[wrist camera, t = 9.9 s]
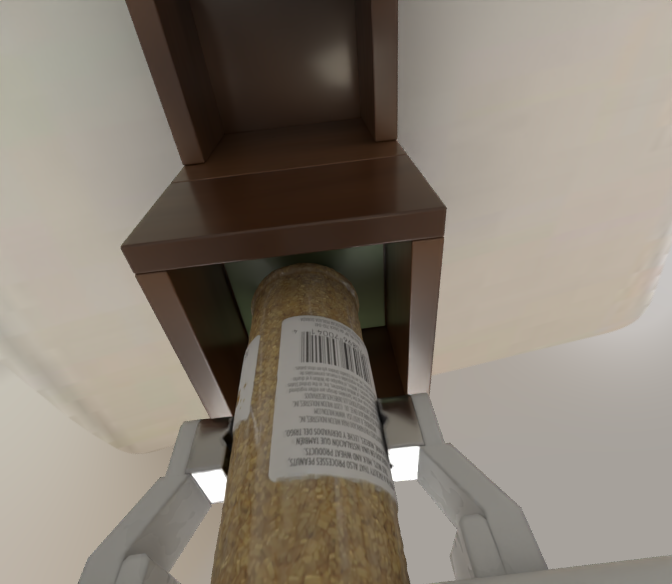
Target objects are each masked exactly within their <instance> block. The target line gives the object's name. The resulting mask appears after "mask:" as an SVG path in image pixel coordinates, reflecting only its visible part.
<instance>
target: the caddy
mask: <svg viewBox="0 0 672 584" xmlns="http://www.w3.org/2000/svg"><path fill="white" fill-rule="evenodd" d="M125 1H126V4H127V7H128V10H129V13H130V15H131V18H132V21H133V24H134V27H135V30H136V33H137V35H138V38H139V41H140V44H141V47H142V50H143V52H144V55H145V58H146V61H147V64H148V67H149V69H150V72H151V75H152V78H153V81H154V84H155V87H156V89H157V92H158V95H159V98H160V101H161V104H162V106H163V109H164V112H165V115H166V118H167V121H168V123H169V126H170V129H171V132H172V135H173V138H174V141H175V143H176V146H177V149H178V152H179V155H180V158H181V160H182V163H183V165H185V166H184V167H183V168H182V170H181V171H180V172H179V173H178V175H177V176H176V177H175V179H174V180H173V181H172V182H171V184H170V185H169V186H168V187H167V189H166V190H165V191H164V192H163V194H162V195H161V196H160V197H159V199H158V200H157V201H156V202H155V204H154V205H153V206H152V207H151V209H150V210H149V211H148V212H147V214H146V215H145V216H144V217H143V219H142V220H141V221H140V222H139V224H138V225H137V226H136V228H135V229H134V230H133V231H132V233H131V234H130V235H129V236H128V238H127V239H126V240H125V241H124V243H123V244H122V245H121V250H122V252H123V254H124V256H125V258H126V259H127V261H128V263H129V265H130V267H131V269H132V271H133V273H135V277H136V279H137V281H138V283H139V285H140V286H141V288H142V290H143V292H144V294H145V296H146V298H147V300H148V302H149V303H150V305H151V307H152V309H153V311H154V313H155V315H156V317H157V319H158V320H159V322H160V324H161V326H162V328H163V330H164V332H165V334H166V336H167V337H168V339H169V341H170V343H171V345H172V347H173V349H174V351H175V353H176V354H177V356H178V358H179V360H180V362H181V364H182V366H183V368H184V370H185V371H186V373H187V375H188V377H189V379H190V381H191V383H192V385H193V387H194V388H195V390H196V392H197V394H198V396H199V398H200V400H201V402H202V404H203V405H204V407H205V409H206V411H207V413H208V415H209V417H210V419H211V418H220V417H230V416H234V415H235V410H236V404H237V398H238V391H239V385H240V378H241V372H242V366H243V361H244V355H245V352H246V350H247V348H248V343H249V335H250V330H251V323H252V313H251V302H252V298H253V295H254V293H255V291H256V289H257V288H258V286H259V284H260V283H261V282H262V280H263V279H264V278H265V277H266V276H268V275H269V274H270V273H271V272H272V271H274V270H276V269H279V268H282V267H284V266H289V265H293V264H297V263H315V264H319V265H323V266H327V267H329V268H332V269H334V270H335V271H336V272H339V273H341V274H342V275H344V276H345V277H346V278H347V279H348V280H349V281H350V282H351V283H352V285H353V287H354V288H355V290H356V293H357V295H358V300H359V312H358V317H359V321H360V325H361V326H360V327H361V331H362V338H363V343H364V345H365V347H366V349H367V352H368V357H369V362H370V367H371V371H372V376H373V381H374V386H375V391H376V395H377V398H384V397H392V396H399V395H406V394H409V395H411V394H418V393H425V392H426V393H427V394H428V395H429V394H430V384H431V373H432V362H433V352H434V341H435V330H436V320H437V309H438V298H439V288H440V277H441V266H442V256H443V245H444V237H443V236H444V231H445V220H446V209H447V208H446V206H445V205H444V203H443V202H442V201H441V199H440V198H439V197H438V195H437V194H436V193H435V191H434V190H433V188H432V187H431V186H430V184H429V183H428V182H427V180H426V179H425V178H424V176H423V175H422V174H421V172H420V171H419V170H418V168H417V167H416V166H415V164H414V163H413V162H412V160H411V159H410V158H409V156H408V155H407V154H406V152H405V151H404V150H403V148H402V147H401V145H400V144H399V143H398V141H397V140H396V139H397V103H398V0H125Z"/></svg>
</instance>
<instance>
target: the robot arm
mask: <svg viewBox="0 0 672 584" xmlns="http://www.w3.org/2000/svg"><path fill="white" fill-rule="evenodd" d="M377 404H378V409H379V415H380V420H381V423H382V426H383V435H384V441H385V446H386V451H387V456H388V459H389V462H390V467H391V472H392V477H393V482H394V481H404V480H416V479H417V481H418V482H419V484H420V485H421V486H422V487H423V488H424V490H425V491H426V492H427V493H428V495H429V496H430V497H431V498H432V499H433V501H434V502H435V503H436V504H437V505H438V507H439V508H440V509H441V510H442V511H443V513H444V514H445V515H446V516H447V518H448V519H449V520H450V521H451V522H452V523H453V525H454V526H455V527H456V529H457V532H456V536H455V539H454V543H453V547H452V550H451V554H450V559H451V563H452V567H453V571H454V575H455V579H456V581H448V582H439V583H431V584H672V555H669V556H660V557H652V558H643V559H634V560H626V561H617V562H609V563H600V564H592V565H584V566H575V567H567V568H558V569H550V570H549V569H548V567H547V565H546V563H545V561H544V558H543V556H542V554H541V552H540V549H539V547H538V545H537V542H536V540H535V538H534V536H533V533H532V531H531V529H530V526H529V524H528V522H527V520H526V518H525V515H524V513H523V511H522V509H521V507H520V506H518V505H517V503H515V502H514V501H513V500H512V499H511V498H510V497H509V496H508V495H507V494H506V493H504V492H503V491H502V490H501V489H500V488H499V487H498V486H497V485H496V484H495V483H493V482H492V481H491V480H490V479H489V478H488V477H487V476H486V475H485V474H484V473H483V472H481V471H480V470H479V469H478V468H477V467H476V466H475V465H474V464H473V463H472V462H470V461H469V460H468V459H467V458H466V457H465V456H464V455H463V454H462V453H460V452H459V451H458V450H457V449H456V448H455V447H454V446H453V445H452V444H451V443H445V442H444V439H443V436H442V433H441V430H440V427H439V424H438V421H437V418H436V415H435V412H434V409H433V406H432V403H431V400H430V397H429V395H428V394H427V393H426V392H425V393H418V394H411V395H409V394H406V395H399V396H392V397H384V398H377ZM233 422H234V416H230V417H220V418H211V419H200V420H192V421H184V422H183V424H182V425H181V427H180V430H179V433H178V436H177V440H176V443H175V446H174V449H173V453H172V456H171V459H170V463H169V466H168V469H167V473H166V476H165V477H160V478H159V479H158V480H157V482H156V483H155V484H154V485H153V486H152V487H151V489H149V490H148V492H147V493H146V494H145V495H144V496H143V497H142V498H141V499H140V501H139V502H138V503H137V504H136V505H135V506H134V507H133V508H132V510H131V511H130V512H129V513H128V514H127V515H126V516H125V517H124V519H123V520H122V521H121V522H120V523H119V524H118V525H117V526H116V527H115V529H114V530H113V531H112V532H111V533H110V534H109V535H108V536H107V538H106V539H105V540H104V541H103V542H102V543H101V544H100V545H99V546H98V548H97V549H96V550H95V551H94V552H93V553H92V554H91V555H90V557H89V558H88V560H87V562H86V564H85V567H84V569H83V572H82V574H81V577H80V579H79V582H78V584H181V583H180V582H179V581H177V580H176V579H175V578H174V577H173V576H172V575H170V574H169V571H170V570H171V568H172V566H173V565H174V564H175V562H176V560H177V559H178V557H179V556H180V554H181V553H182V551H183V550H184V548H185V546H186V545H187V543H188V542H189V540H190V538H191V537H192V536H193V534H194V532H195V531H196V529H197V528H198V526H199V525H200V523H201V521H202V520H203V518H204V517H205V515H206V514H207V512H208V511H209V509H210V507H211V504H214V503H220V502H224V496H225V489H226V482H227V475H228V469H229V460H230V455H231V450H232V443H233V435H232V429H233Z"/></svg>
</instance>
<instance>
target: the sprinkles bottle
mask: <svg viewBox="0 0 672 584" xmlns="http://www.w3.org/2000/svg"><path fill="white" fill-rule="evenodd" d="M358 312H359V300H358V295H357V293H356V290H355V288H354V287H353V285H352V283H351V282H350V281H349V280H348V279H347V278H346V277H345V276H344V275H342V274H341V273H339V272H336V271H335V270H334V269H332V268H329V267H327V266H323V265H319V264H315V263H297V264H293V265H289V266H284V267H282V268H279V269H276V270H274V271H272V272H271V273H270V274H269V275H268V276H266V277H265V278H264V279H263V280H262V282H261V283H260V284H259V286H258V288H257V289H256V291H255V293H254V295H253V298H252V302H251V313H252V323H251V330H250V335H249V343H248V348H247V350H246V352H245V355H244V361H243V366H242V372H241V378H240V385H239V391H238V398H237V404H236V410H235V415H234V422H233V429H232V435H233V443H232V450H231V455H230V460H229V469H228V475H227V482H226V489H225V496H224V504H223V508H222V517H221V524H220V528H219V534H218V539H217V545H216V550H215V556H214V564H213V570H212V577H211V584H410V581H409V576H408V572H407V562H406V558H405V555H404V551H403V542H402V538H401V534H400V528H399V524H398V517H397V513H398V503H397V498H396V492H395V487H394V482H393V477H392V472H391V467H390V462H389V459H388V456H387V451H386V446H385V441H384V435H383V426H382V423H381V420H380V415H379V409H378V404H377V395H376V391H375V386H374V381H373V376H372V371H371V367H370V362H369V357H368V352H367V349H366V347H365V345H364V343H363V338H362V331H361V327H360V326H361V325H360V321H359V317H358Z"/></svg>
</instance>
